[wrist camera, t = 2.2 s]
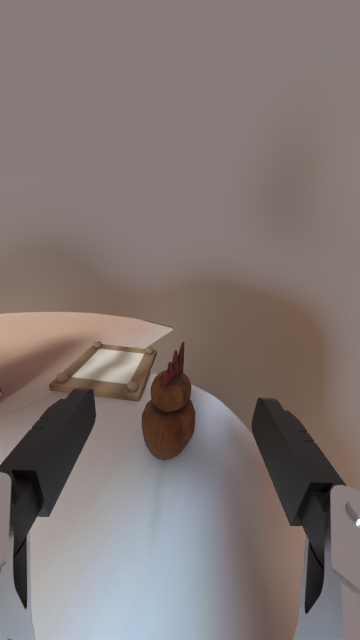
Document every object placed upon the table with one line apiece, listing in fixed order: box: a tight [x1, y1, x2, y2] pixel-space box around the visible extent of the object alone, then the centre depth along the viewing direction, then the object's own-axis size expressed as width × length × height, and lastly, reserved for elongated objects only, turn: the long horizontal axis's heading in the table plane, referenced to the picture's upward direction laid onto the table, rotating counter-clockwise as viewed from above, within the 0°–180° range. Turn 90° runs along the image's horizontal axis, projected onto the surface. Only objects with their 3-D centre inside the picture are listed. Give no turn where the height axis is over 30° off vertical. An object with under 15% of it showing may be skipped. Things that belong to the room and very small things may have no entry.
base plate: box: [49, 342, 157, 401], centre depth 40 cm, size 16×16×2 cm
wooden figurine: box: [142, 342, 195, 460], centre depth 23 cm, size 7×6×15 cm
